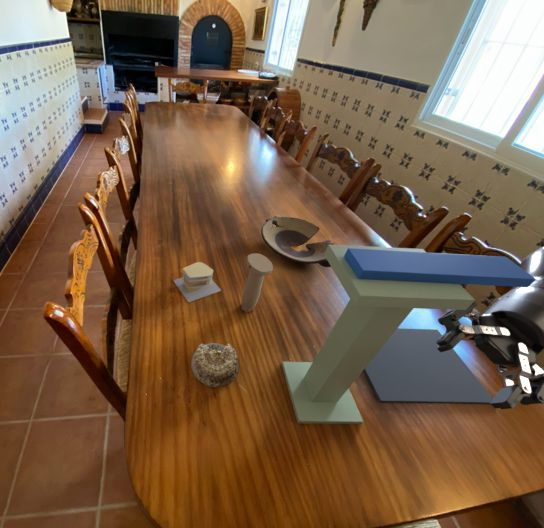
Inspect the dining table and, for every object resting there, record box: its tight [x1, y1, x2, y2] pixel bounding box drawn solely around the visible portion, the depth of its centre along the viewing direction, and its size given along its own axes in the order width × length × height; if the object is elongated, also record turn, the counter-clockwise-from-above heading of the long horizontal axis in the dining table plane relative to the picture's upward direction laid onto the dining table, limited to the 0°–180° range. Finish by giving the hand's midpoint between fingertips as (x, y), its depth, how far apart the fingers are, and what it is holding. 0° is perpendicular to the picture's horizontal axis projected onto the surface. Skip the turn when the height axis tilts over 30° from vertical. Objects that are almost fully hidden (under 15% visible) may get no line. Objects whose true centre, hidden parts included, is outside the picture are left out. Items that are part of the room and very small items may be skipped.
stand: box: [281, 244, 476, 425], centre depth 48 cm, size 14×12×32 cm
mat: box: [363, 327, 493, 405], centre depth 65 cm, size 24×18×1 cm
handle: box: [241, 252, 274, 313], centre depth 70 cm, size 5×6×15 cm
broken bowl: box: [260, 215, 335, 268], centre depth 91 cm, size 22×30×8 cm
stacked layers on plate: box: [172, 261, 222, 303], centre depth 78 cm, size 10×9×6 cm
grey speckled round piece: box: [190, 342, 240, 389], centre depth 60 cm, size 10×10×5 cm
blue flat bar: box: [344, 248, 536, 288], centre depth 38 cm, size 22×4×1 cm, turn 91°
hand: (470, 376), depth 40 cm, fingers open, 8 cm apart
